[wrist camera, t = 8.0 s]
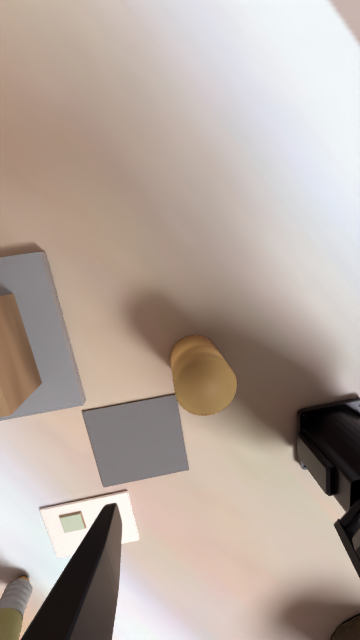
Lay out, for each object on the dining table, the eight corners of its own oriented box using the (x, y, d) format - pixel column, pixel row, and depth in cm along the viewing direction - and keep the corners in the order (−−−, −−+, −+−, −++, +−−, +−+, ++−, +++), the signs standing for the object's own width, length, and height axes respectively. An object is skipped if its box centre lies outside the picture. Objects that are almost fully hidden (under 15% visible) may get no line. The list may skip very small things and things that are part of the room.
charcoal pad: (175, 394, 20) (176, 394, 20) (188, 468, 22) (188, 469, 22) (82, 411, 20) (82, 412, 20) (103, 486, 22) (103, 487, 22)
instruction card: (127, 490, 22) (127, 494, 22) (139, 537, 23) (139, 542, 23) (40, 508, 22) (38, 513, 21) (58, 555, 23) (56, 560, 23)
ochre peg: (214, 331, 19) (233, 353, 14) (219, 374, 20) (239, 409, 15) (166, 339, 19) (170, 364, 14) (174, 383, 20) (179, 420, 15)
